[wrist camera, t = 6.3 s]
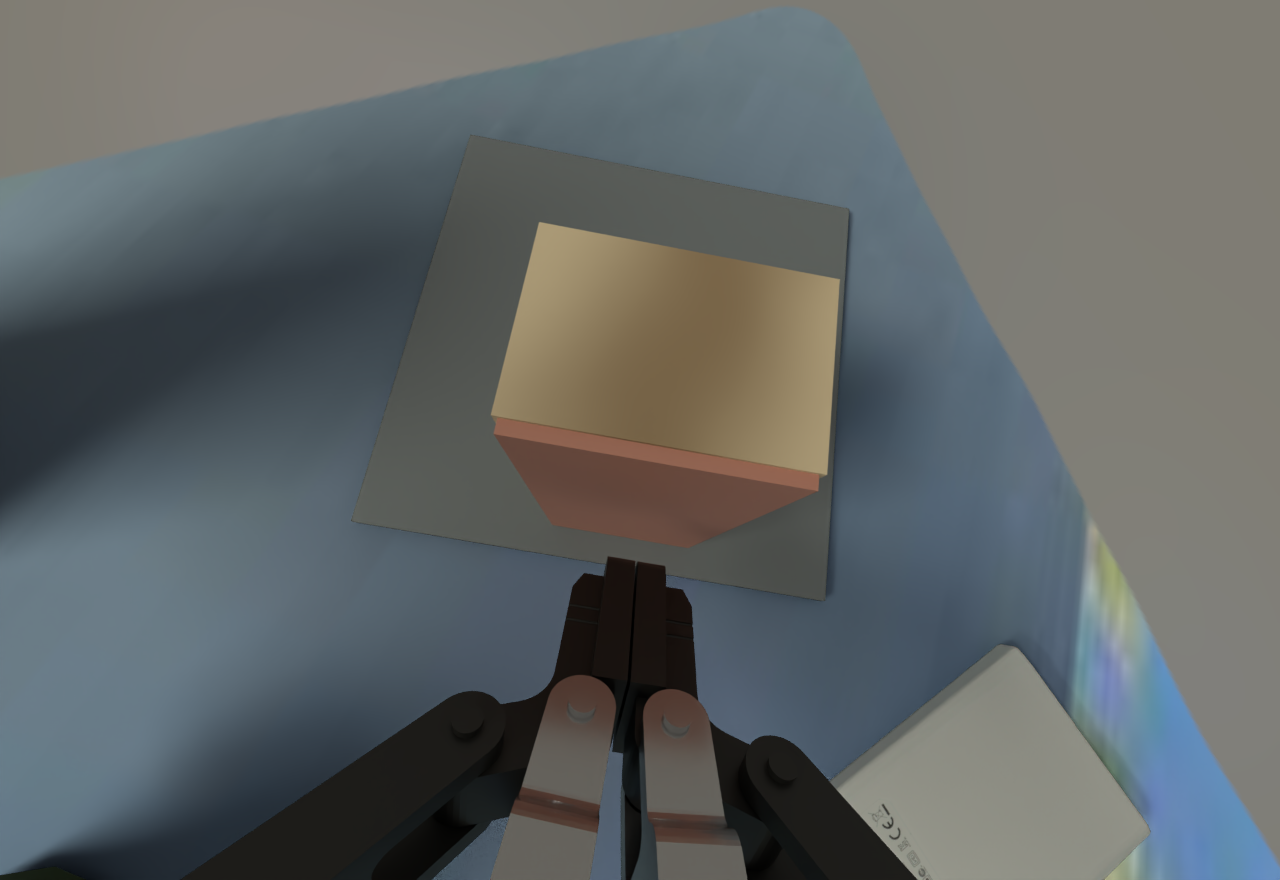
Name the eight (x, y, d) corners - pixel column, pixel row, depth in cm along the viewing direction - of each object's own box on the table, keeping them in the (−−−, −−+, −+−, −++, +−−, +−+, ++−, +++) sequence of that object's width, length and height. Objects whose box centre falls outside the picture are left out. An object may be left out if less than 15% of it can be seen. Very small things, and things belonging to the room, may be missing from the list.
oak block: (550, 524, 23) (486, 431, 9) (570, 428, 24) (539, 222, 10) (689, 548, 23) (826, 491, 9) (702, 452, 24) (839, 279, 11)
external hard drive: (1118, 818, 22) (895, 1034, 20) (991, 641, 24) (768, 820, 21) (1157, 836, 21) (921, 1072, 18) (1019, 645, 22) (782, 838, 20)
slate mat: (356, 522, 23) (350, 520, 22) (472, 142, 28) (470, 134, 28) (820, 600, 23) (825, 600, 23) (844, 215, 29) (849, 208, 28)
